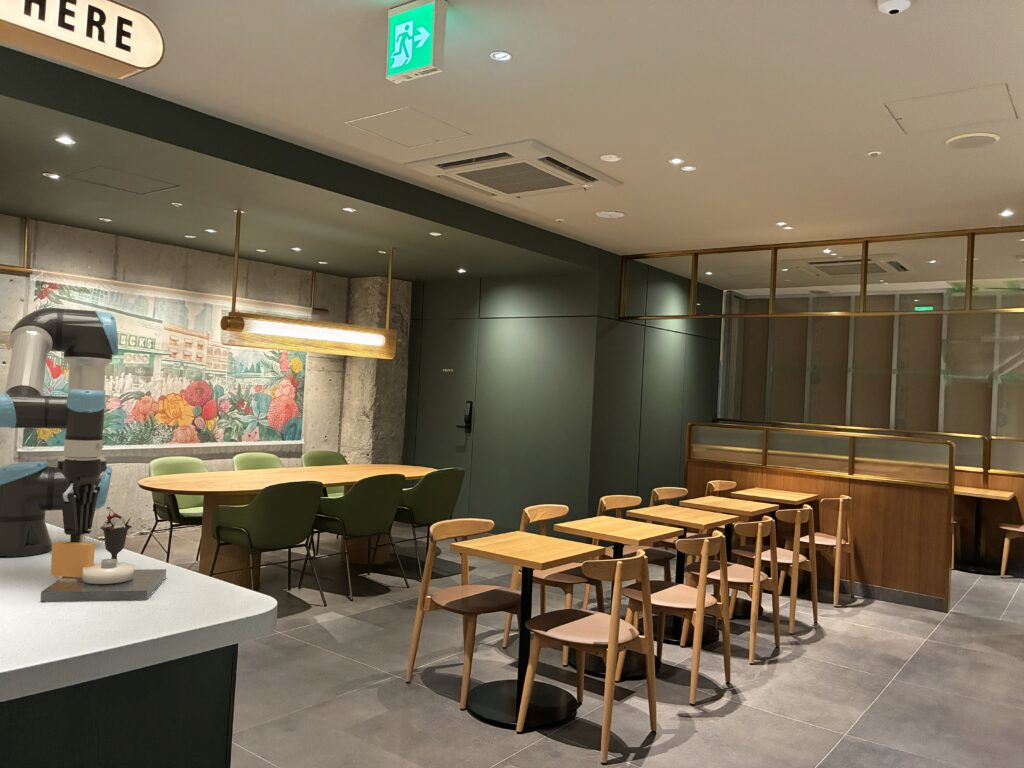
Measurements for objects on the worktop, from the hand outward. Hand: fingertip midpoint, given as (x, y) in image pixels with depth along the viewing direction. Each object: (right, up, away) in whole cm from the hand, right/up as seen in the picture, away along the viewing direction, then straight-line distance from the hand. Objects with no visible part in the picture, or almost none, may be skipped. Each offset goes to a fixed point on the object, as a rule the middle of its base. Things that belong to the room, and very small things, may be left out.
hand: (76, 563), depth 173 cm
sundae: (0, -5, +16) cm, 17 cm away
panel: (+9, -5, -4) cm, 11 cm away
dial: (+6, -2, -4) cm, 7 cm away
